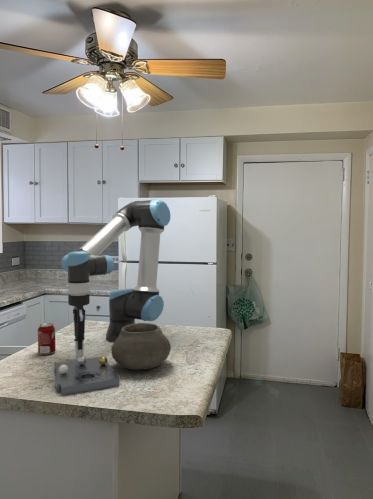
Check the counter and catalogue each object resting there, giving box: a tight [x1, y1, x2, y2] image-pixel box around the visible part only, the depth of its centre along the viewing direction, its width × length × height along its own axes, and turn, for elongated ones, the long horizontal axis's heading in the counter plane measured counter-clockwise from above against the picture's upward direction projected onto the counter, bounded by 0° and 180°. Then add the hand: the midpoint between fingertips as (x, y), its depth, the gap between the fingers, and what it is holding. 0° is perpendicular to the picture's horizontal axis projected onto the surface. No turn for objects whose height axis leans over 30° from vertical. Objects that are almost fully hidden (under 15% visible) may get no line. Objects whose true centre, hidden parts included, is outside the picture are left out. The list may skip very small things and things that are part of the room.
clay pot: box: [110, 322, 172, 371], centre depth 143 cm, size 22×21×15 cm
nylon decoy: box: [59, 364, 68, 374], centre depth 130 cm, size 3×3×3 cm
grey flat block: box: [53, 356, 121, 397], centre depth 133 cm, size 24×20×2 cm
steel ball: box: [76, 356, 87, 365], centre depth 139 cm, size 3×3×3 cm
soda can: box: [37, 322, 56, 356], centre depth 159 cm, size 7×7×12 cm
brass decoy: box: [99, 355, 108, 365], centre depth 139 cm, size 3×3×3 cm
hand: (79, 357), depth 142 cm, fingers closed
